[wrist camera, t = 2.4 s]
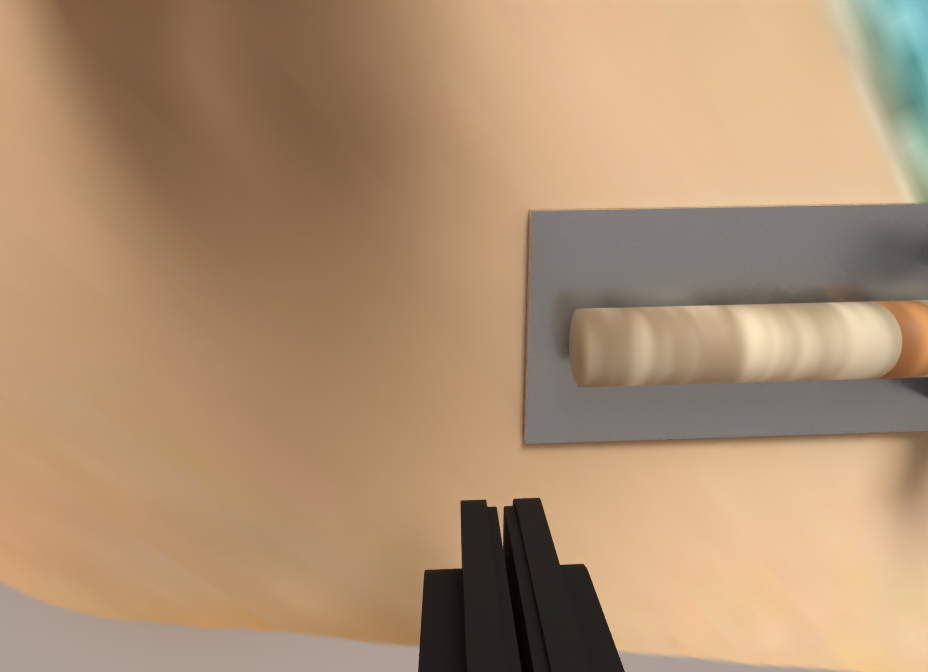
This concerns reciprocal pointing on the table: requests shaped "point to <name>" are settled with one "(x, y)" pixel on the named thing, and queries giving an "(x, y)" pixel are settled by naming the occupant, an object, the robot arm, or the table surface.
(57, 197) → the table surface
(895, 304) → the dowel
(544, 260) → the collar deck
